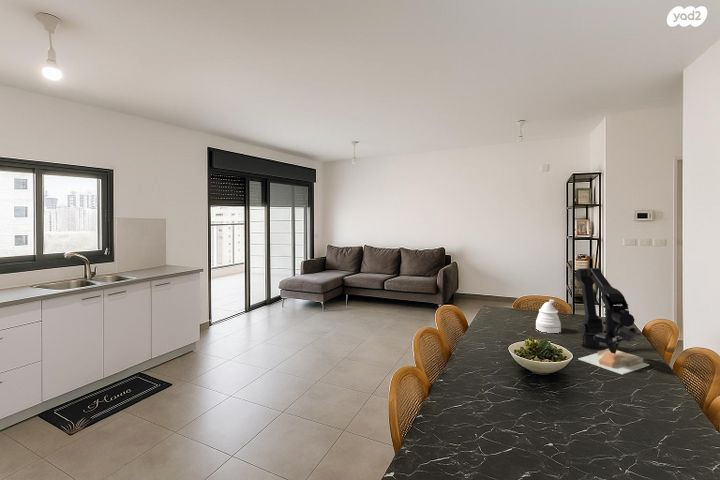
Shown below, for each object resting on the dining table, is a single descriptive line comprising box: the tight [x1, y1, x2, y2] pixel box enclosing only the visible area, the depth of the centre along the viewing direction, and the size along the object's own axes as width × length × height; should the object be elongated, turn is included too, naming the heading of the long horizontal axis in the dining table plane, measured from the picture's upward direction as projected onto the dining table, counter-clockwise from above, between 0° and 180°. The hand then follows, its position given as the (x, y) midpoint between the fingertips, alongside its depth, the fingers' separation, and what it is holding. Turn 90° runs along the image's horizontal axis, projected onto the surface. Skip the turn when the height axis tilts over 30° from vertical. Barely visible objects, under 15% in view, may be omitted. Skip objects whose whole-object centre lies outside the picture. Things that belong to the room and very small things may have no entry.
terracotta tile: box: [599, 352, 620, 368], centre depth 159 cm, size 5×8×2 cm, turn 123°
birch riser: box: [597, 348, 644, 367], centre depth 163 cm, size 14×9×2 cm, turn 24°
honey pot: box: [535, 299, 562, 334], centre depth 208 cm, size 13×13×18 cm
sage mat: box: [577, 352, 650, 375], centre depth 161 cm, size 19×19×1 cm
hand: (613, 354), depth 161 cm, fingers closed
